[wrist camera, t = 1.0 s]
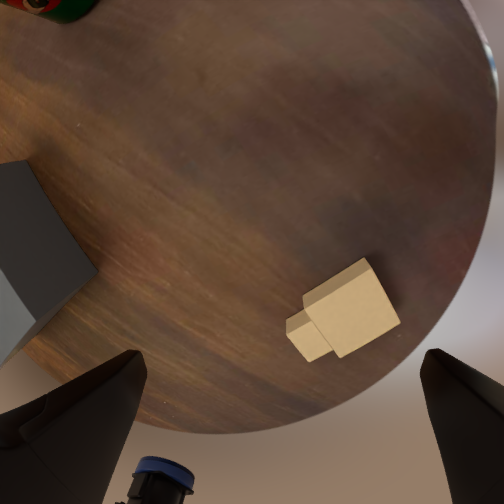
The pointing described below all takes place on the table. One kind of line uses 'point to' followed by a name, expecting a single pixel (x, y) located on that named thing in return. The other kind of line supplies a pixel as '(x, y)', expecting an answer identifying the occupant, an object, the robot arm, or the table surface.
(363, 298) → the cream pad
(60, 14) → the soda can
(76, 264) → the block
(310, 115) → the table surface
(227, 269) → the table surface
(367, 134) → the table surface
